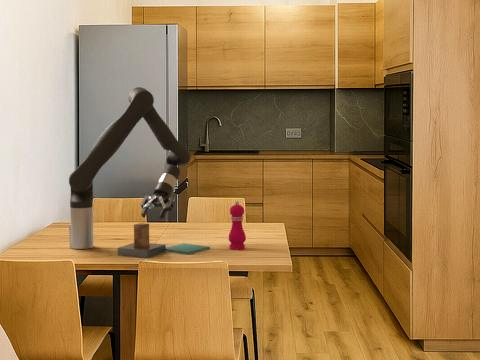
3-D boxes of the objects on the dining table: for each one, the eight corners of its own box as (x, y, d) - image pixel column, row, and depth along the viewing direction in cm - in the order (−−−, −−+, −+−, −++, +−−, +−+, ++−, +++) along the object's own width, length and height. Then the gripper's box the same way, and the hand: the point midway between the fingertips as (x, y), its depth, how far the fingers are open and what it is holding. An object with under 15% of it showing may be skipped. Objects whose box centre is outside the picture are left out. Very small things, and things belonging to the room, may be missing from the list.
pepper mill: (237, 250, 315) (237, 202, 313) (224, 248, 320) (224, 201, 318) (249, 248, 320) (249, 200, 319) (236, 246, 325) (236, 199, 323)
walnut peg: (134, 254, 310) (133, 224, 308) (140, 252, 313) (139, 223, 312) (143, 254, 308) (143, 225, 307) (149, 253, 312) (149, 223, 310)
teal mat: (162, 250, 316) (162, 248, 316) (183, 245, 328) (183, 243, 328) (188, 254, 308) (188, 251, 308) (209, 248, 320) (209, 246, 320)
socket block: (117, 255, 307) (117, 247, 307) (136, 249, 320) (136, 242, 320) (147, 258, 301) (147, 250, 301) (165, 251, 314) (165, 244, 314)
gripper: (147, 180, 326) (133, 210, 317) (176, 181, 320) (163, 212, 311) (154, 191, 331) (140, 221, 322) (183, 193, 326) (170, 223, 316)
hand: (151, 217), depth 317 cm, fingers open, 8 cm apart
